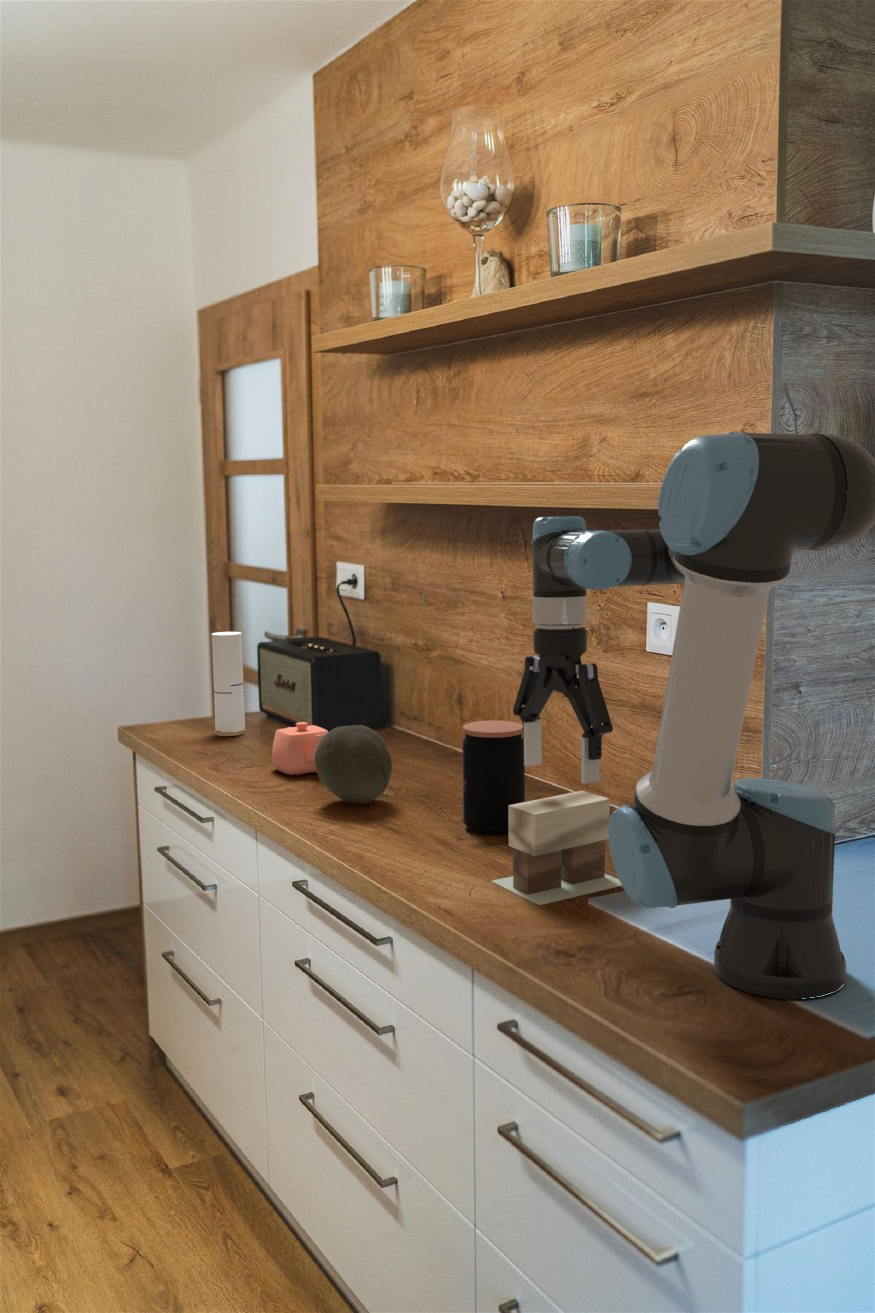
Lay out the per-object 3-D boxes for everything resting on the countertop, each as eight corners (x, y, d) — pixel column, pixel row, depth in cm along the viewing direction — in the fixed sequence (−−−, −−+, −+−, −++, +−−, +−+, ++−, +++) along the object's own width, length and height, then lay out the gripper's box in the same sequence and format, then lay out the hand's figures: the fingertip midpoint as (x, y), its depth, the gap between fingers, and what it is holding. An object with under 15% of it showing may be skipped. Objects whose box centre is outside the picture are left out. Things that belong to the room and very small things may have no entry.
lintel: (609, 838, 168) (609, 798, 167) (534, 856, 160) (534, 814, 160) (582, 829, 173) (582, 790, 172) (508, 845, 165) (508, 805, 165)
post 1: (561, 887, 166) (561, 846, 165) (527, 894, 162) (527, 853, 162) (546, 880, 169) (546, 840, 168) (513, 887, 165) (513, 847, 165)
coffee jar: (488, 815, 207) (487, 718, 205) (536, 825, 201) (536, 724, 198) (451, 829, 199) (449, 727, 197) (500, 840, 193) (500, 735, 190)
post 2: (604, 877, 170) (604, 837, 169) (572, 884, 167) (572, 844, 166) (589, 870, 173) (590, 832, 172) (557, 877, 170) (557, 838, 169)
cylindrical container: (249, 734, 282) (246, 633, 278) (222, 738, 278) (218, 635, 275) (238, 730, 288) (234, 631, 284) (211, 733, 284) (207, 633, 281)
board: (628, 891, 167) (628, 883, 167) (539, 913, 159) (539, 905, 158) (577, 869, 177) (577, 862, 177) (491, 888, 169) (491, 880, 169)
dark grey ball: (379, 791, 226) (377, 716, 224) (401, 808, 213) (400, 729, 211) (309, 798, 221) (306, 721, 219) (327, 816, 208) (325, 735, 206)
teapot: (312, 760, 254) (310, 713, 252) (347, 776, 238) (346, 727, 237) (263, 766, 248) (261, 719, 247) (296, 784, 233) (295, 733, 231)
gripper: (638, 630, 154) (638, 786, 156) (529, 618, 175) (531, 755, 177) (594, 634, 150) (595, 793, 152) (488, 621, 171) (490, 761, 174)
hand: (560, 773), depth 165 cm, fingers open, 13 cm apart
